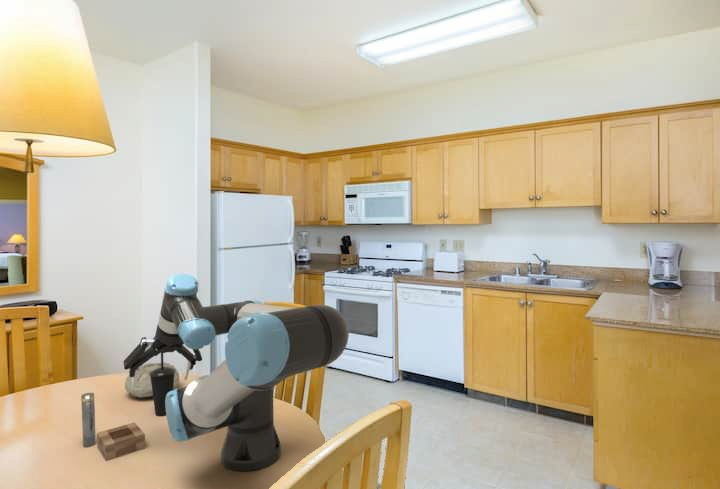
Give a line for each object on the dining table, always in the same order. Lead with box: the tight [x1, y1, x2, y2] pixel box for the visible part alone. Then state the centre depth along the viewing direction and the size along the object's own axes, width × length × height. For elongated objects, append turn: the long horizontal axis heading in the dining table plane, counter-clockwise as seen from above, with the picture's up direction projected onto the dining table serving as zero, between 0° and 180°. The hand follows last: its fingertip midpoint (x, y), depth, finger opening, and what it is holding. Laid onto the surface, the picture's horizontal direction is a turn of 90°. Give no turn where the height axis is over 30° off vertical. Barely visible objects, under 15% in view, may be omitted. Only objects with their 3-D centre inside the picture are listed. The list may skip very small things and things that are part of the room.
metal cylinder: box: [80, 392, 97, 448], centre depth 121 cm, size 3×3×14 cm
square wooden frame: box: [96, 421, 146, 462], centre depth 119 cm, size 9×9×4 cm
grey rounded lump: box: [124, 362, 180, 398], centre depth 157 cm, size 18×18×10 cm
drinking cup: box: [149, 353, 175, 417], centre depth 140 cm, size 8×8×20 cm
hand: (159, 379), depth 126 cm, fingers open, 13 cm apart
